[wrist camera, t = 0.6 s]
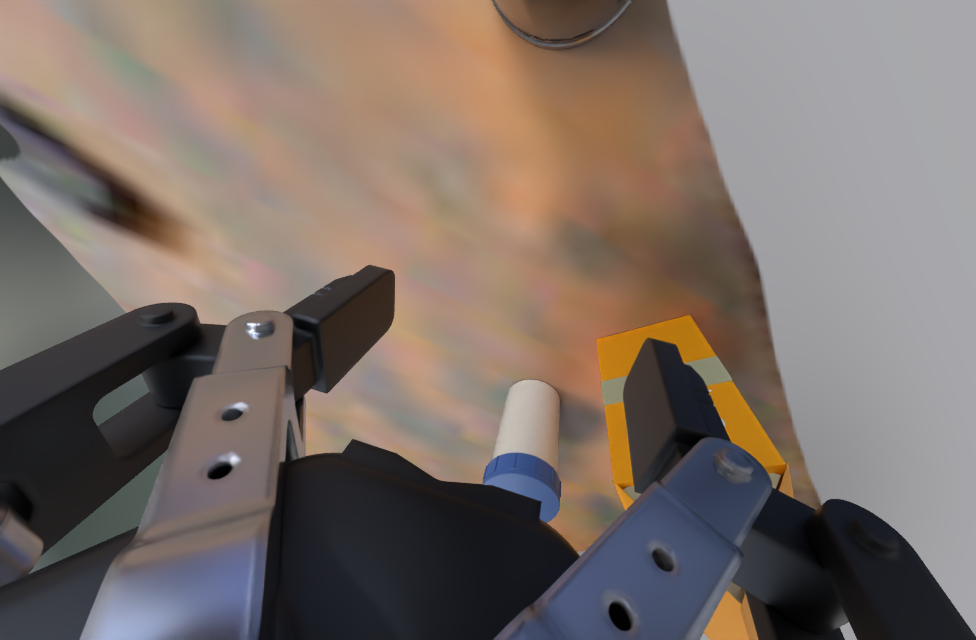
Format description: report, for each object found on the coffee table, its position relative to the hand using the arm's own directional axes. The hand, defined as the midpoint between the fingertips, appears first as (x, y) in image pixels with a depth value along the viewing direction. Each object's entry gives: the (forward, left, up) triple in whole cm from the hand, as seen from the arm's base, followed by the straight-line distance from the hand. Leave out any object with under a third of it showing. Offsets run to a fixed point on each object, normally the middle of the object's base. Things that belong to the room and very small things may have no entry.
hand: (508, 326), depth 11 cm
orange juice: (+12, +11, -18) cm, 25 cm away
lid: (+19, +1, -7) cm, 20 cm away
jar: (+19, +1, -18) cm, 26 cm away
